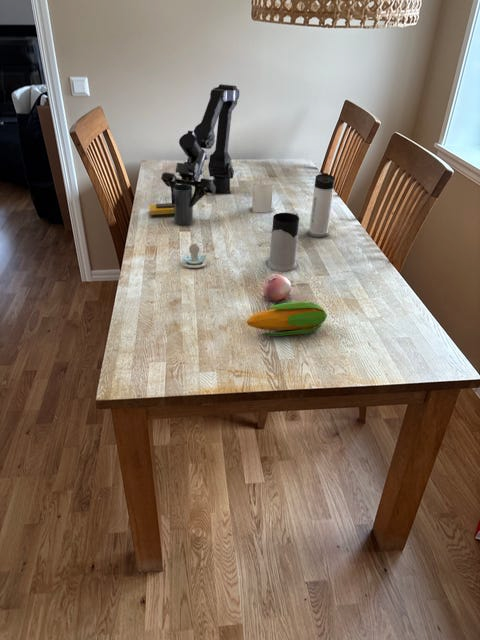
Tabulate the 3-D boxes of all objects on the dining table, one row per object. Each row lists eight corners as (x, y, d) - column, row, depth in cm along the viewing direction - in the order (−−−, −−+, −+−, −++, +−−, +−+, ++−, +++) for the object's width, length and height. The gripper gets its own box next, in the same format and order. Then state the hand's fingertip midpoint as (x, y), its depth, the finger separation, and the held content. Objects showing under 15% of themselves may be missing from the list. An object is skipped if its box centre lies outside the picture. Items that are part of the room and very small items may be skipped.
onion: (262, 290, 137) (263, 267, 133) (290, 291, 137) (292, 268, 133) (262, 306, 130) (263, 282, 126) (291, 307, 130) (294, 283, 126)
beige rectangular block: (271, 212, 183) (272, 186, 178) (252, 212, 183) (254, 186, 177) (269, 208, 186) (271, 182, 181) (252, 208, 186) (253, 182, 180)
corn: (333, 309, 116) (250, 316, 112) (329, 336, 120) (249, 344, 116) (322, 294, 122) (243, 300, 119) (319, 320, 126) (243, 327, 122)
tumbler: (191, 218, 177) (190, 183, 170) (194, 225, 172) (193, 190, 165) (173, 219, 176) (172, 184, 169) (175, 226, 171) (174, 191, 164)
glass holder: (263, 266, 148) (266, 219, 140) (280, 248, 159) (284, 203, 151) (290, 273, 145) (295, 226, 137) (306, 254, 156) (311, 209, 148)
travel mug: (326, 230, 172) (334, 173, 160) (327, 238, 166) (335, 179, 155) (308, 229, 172) (315, 172, 161) (309, 237, 167) (315, 178, 155)
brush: (182, 210, 183) (182, 200, 181) (184, 215, 178) (184, 206, 176) (150, 212, 180) (149, 202, 178) (151, 217, 176) (150, 208, 174)
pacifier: (206, 269, 146) (206, 259, 151) (206, 250, 142) (206, 241, 147) (181, 269, 146) (182, 259, 150) (181, 250, 142) (181, 241, 147)
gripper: (161, 148, 166) (147, 190, 164) (212, 155, 161) (198, 199, 159) (173, 165, 177) (160, 205, 175) (221, 172, 172) (208, 213, 169)
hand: (181, 205), depth 169 cm, fingers closed on tumbler, 6 cm apart
